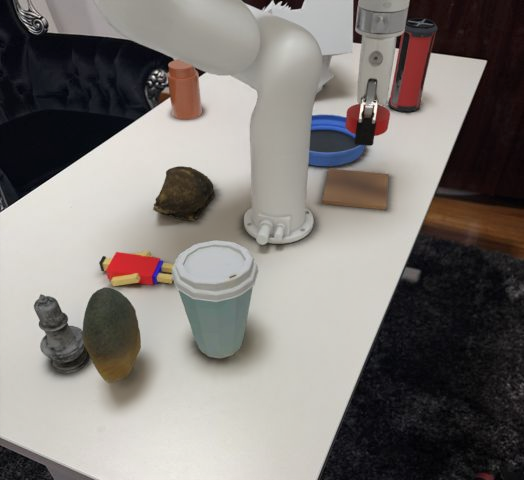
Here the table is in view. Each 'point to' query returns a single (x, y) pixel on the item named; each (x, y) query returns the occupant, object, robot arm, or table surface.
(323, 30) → the jagged white slab
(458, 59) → the table surface
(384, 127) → the lid
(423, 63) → the speaker
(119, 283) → the toy figure
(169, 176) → the seashell
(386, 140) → the table surface
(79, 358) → the grey chess piece
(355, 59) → the table surface
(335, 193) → the coaster
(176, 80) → the jar
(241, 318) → the disposable coffee cup
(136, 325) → the mango
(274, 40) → the robot arm
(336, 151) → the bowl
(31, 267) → the table surface
